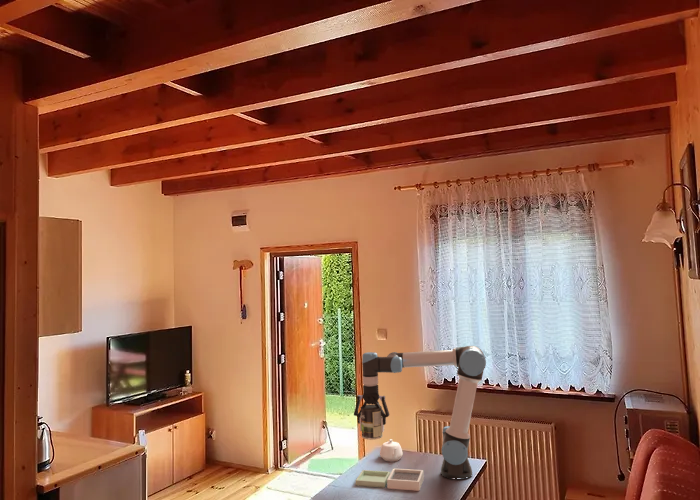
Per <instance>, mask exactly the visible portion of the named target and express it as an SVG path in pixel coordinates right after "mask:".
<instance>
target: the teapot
mask: <svg viewBox="0 0 700 500" xmlns="http://www.w3.org/2000/svg"><path fill="white" fill-rule="evenodd" d="M403 454H404V453H403V449H402V447H401V444H400V443H399V442H398V441H393V439H392V438H390V439H389V440H388V441H385V442H383V443H382V445H381V447H380V451H379V455H380V457H381V459H383V460H384V461H386V462H397V461H399V460H401V458H402V457H403Z"/></svg>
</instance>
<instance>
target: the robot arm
mask: <svg viewBox="0 0 700 500" xmlns="http://www.w3.org/2000/svg"><path fill="white" fill-rule="evenodd" d="M361 359H362V361H361V363H362V364H361V366H362V384H363V385H362V392H363V393H362V395H361V394H358V395H357V396H356V404H355V406H354V407H355V409H354V412H353V416H355V417H357V424H359V431H360V432H362V424H361V409H360V404H361V401H362V399H363V401H364V402H363V404H362V406H361V407H362V408H365V407H366V405H375V406H376V407H377V408H380V407H383V408H382V409H381V416H382V418H381V432H382V433H384V431H385V425H386V424H387V418H388V417H390V411H389V408H388V406H387V403H386V396H385V395H380V393H379V385H378V384H379V373H389V374H390V373H393V374H396V373H397V374H398V373H402V372H403V368H422V367H444V366H445V367H446V366H455V367H456V368H457V373H456V375H457V377H459V379H458V383H457V389H456V394H455V397H454V403H453V409H452V413H451V419H450V423H449V425H448V426H447V425H446V426H444V427H443V428H442V447H441V455H442V457H443V460H442V464H441V468H440V475H441V474H442V475H441V476H442V477H443V476H444V477H443V478H445V477H447V478H446V479H449V478H455V479H457V478H466V477H470V476H471V475H472V476H473V469H472V466H471V463H470V461H469V458H468V457H469V455H468V454H469V453H468V451H469V445H470V439H471V435H470V434H469V428H470V423H471V418H472V413H473V412H472V411H473V408H474V402H475V399H476V392H477V388H478V387H477V386H478V383H479V382H481V381H482V380H483V375H484V370H485V369H486V365H487V360H486V356H485V354H484V352H483V350H482V349H480V348H479V347H478V346H475V345H466V346H459V347H454V348H452V349H444V350H443V349H442V350H428V351H427V350H425V351H412V352H411V351H408V352H397V351H394V352H390V353H389V354H387V356H379V355H378V353H377V352H375V351H374V352H370V351H367V352H364V353H363V354H362V358H361ZM379 400H380V401H381V404H382V405H381V404H380V402H379ZM472 476H471V477H472ZM471 477H470V478H471ZM455 479H454V480H455Z"/></svg>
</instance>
